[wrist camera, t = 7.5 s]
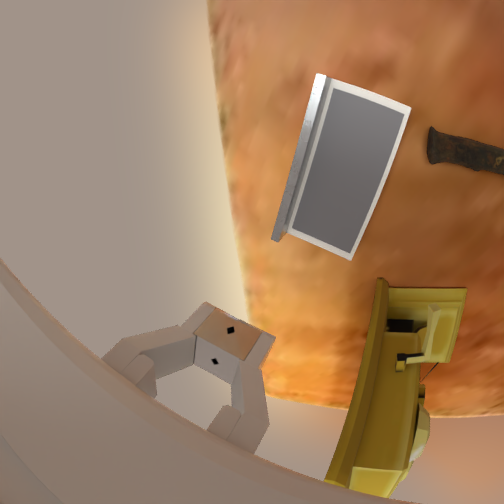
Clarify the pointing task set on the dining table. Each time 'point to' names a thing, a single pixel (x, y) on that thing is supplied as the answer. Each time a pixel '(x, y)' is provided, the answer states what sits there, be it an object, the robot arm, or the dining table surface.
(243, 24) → the dining table surface
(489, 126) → the dining table surface
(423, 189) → the dining table surface
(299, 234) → the grey open box
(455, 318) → the vintage telephone
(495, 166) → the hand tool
